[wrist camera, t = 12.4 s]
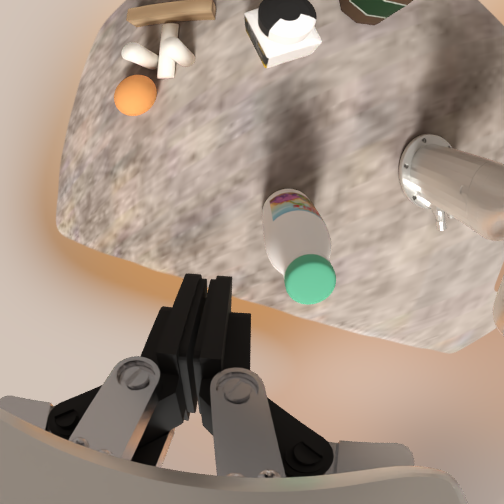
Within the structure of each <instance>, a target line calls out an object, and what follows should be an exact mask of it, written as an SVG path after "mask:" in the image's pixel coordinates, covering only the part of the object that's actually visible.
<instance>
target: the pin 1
mask: <svg viewBox="0 0 504 504" xmlns="http://www.w3.org/2000/svg"><path fill="white" fill-rule="evenodd" d="M122 57H123V58H124V59H126V60H129V61H131V62H134V63H136V64H139V65H141V66H143V67H146V68H148V69H151V70H154V69H156V68H158V61H159V56H158V55H156V54H155V53H153V52H151V51H150V50H148V49H146V48H145V47H143V46H141V45H139V44H138V43H136V42H130V43H128V44H126V45H125V46H124V48H123V49H122Z"/></svg>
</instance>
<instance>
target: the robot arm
mask: <svg viewBox="0 0 504 504" xmlns="http://www.w3.org/2000/svg"><path fill="white" fill-rule="evenodd" d="M404 164H405V166H404ZM399 179H400V184H401V187H402V190H403V192H404V193H405V195H406V197H407V198H408V199H409V200H410V201H411V202H412V203H414V204H415V205H417V206H419V207H421V208H424V209H432V211H433V214H435V216H436V225H437V229H438V230H439V231H443V230H446V229H447V224H446V218H445V212H446V213H448V218H456V219H457V220H459V221H460V222H462V223H463V224H465V225H466V226H468V227H469V228H471V229H472V230H474V231H475V232H476V233H478V234H479V235H481V236H482V237H484V238H486V239H488V240H492V241H502V240H504V164H502V163H499V162H496V161H493V160H490V159H487V158H484V157H481V156H477V155H474V154H471V153H467V152H464V151H460V150H456V149H453V148H452V146H451V145H450V144H449V143H448V142H447V141H446V140H445V139H444V138H442V137H440V136H437V135H433V134H423V135H420V136H418V137H416V138H414V139H413V140H412V141H411V142H410V143H409V144H408V145H407V146H406V148H405V150H404V152H403V154H402V156H401V160H400V165H399ZM231 295H232V277H228V276H217V277H216V280H214V279H211V280H210V284H209V288H208V292H207V279H202V276H201V275H200V274H186V275H185V277H184V279H183V282H182V284H181V287H180V289H179V292H178V294H177V297H176V299H175V302H174V305H173V307H164V306H163V307H161V309H160V311H159V313H158V316H157V318H156V320H155V322H154V325H153V327H152V330H151V332H150V334H149V337H148V339H147V342H146V344H145V347H144V349H143V351H142V354H141V356H140V357H139V356H137V357H130V358H126V359H124V360H122V361H120V362H119V363H118V364H117V365H116V366H115V367H114V368H113V370H112V371H111V373H110V375H109V376H108V377H107V379H106V381H105V382H104V384H103V385H101V386H99V387H97V388H95V389H92V390H90V391H88V392H85V393H83V394H80V395H78V396H76V397H73V398H71V399H69V400H66V401H64V402H61V403H59V404H58V405H56V406H53V405H52V404H51V403H49V402H42V401H36V400H30V399H25V398H20V397H15V396H5V397H2V398H1V399H0V504H468V502H467V499H466V497H465V495H464V493H463V491H462V489H461V487H460V485H459V484H458V482H457V481H456V480H455V478H453V477H452V476H451V475H450V474H448V473H447V472H445V471H442V470H439V469H434V468H430V467H422V466H414V458H413V454H412V452H411V451H410V450H409V448H408V447H406V446H404V445H402V444H398V443H367V442H350V441H339V442H338V443H332V442H328V441H326V440H325V439H324V438H323V437H321V436H320V435H318V434H317V433H315V432H314V431H313V430H311V429H310V428H308V427H307V426H305V425H304V424H302V423H301V422H300V421H298V420H297V419H296V418H294V417H293V416H291V415H290V414H289V413H287V412H286V411H285V410H283V409H282V408H281V407H279V406H278V405H277V404H275V403H274V402H273V401H271V400H270V399H269V398H267V395H266V391H265V387H264V384H263V381H262V379H261V378H260V377H259V376H258V375H257V374H256V373H254V372H252V371H251V370H250V337H251V334H250V333H251V314H250V313H233V312H231ZM493 319H494V322H495V325H496V327H497V328H498V330H499V332H500V333H501V334H502V335H503V336H504V276H503V279H502V281H501V284H500V287H499V290H498V292H497V295H496V298H495V302H494V306H493ZM197 401H198V405H199V412H200V414H201V416H202V423H203V426H204V427H205V428H206V429H207V430H208V431H209V432H210V433H211V434H212V435H213V437H214V449H215V460H216V470H217V476H213V475H205V474H196V473H189V472H182V471H176V470H170V469H165V468H161V467H162V464H163V461H164V459H165V456H166V454H167V451H168V449H169V446H170V443H171V441H172V438H173V436H174V433H175V427H177V426H179V425H181V424H182V423H183V421H184V420H189V415H190V413H195V412H196V407H197Z"/></svg>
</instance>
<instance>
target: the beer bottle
mask: <svg viewBox="0 0 504 504" xmlns="http://www.w3.org/2000/svg"><path fill="white" fill-rule="evenodd" d="M339 1H340V5H341V10H342V12H344V13H345V14H346V15H347V16H349V17H350V18H351V19H352V20H354V21H355V22H356V23H362V24H369V25H376V24H378V23H380V22H381V21H383V20H384V19H386V18H387V17H389V16H390V15H392V14H393V13H395V12H397V11H398V10H400V9H401V8H403V7H405V6H406V5H408V4H409V3H410V2H411V1H413V0H339Z"/></svg>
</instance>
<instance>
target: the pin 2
mask: <svg viewBox="0 0 504 504" xmlns="http://www.w3.org/2000/svg"><path fill="white" fill-rule="evenodd" d="M160 48H161V51H162V52H163V53H164V54H165V55H167V56H168V57H170V58H171V59H173V60H174V61H175V62H177V63H178V64H180V65H181V66H183V67H189V66H191V65H192V64H193V63H194V62H195V56H194V54H193V53H192V52H191V51H190V50H189V49H188V48H187V47H186V46H185V45H184V44H183V43H182V42H181V41H180V40H179V39H178V38H176V37H168V38H166V39H165V40H164V41H163V42H162V43H161V46H160Z"/></svg>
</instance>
